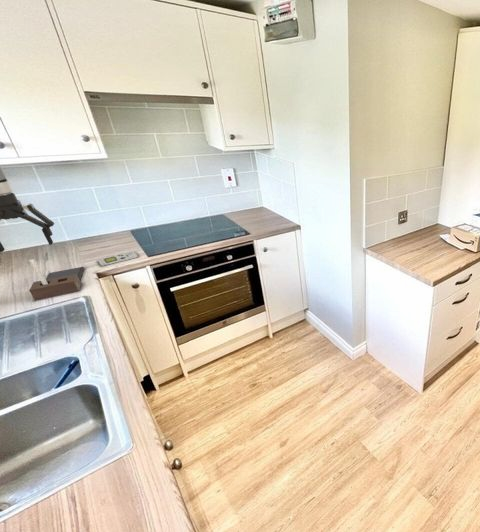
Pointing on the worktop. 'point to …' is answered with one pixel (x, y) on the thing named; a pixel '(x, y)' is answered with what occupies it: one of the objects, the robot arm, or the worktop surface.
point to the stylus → (38, 271)
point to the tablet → (67, 273)
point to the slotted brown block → (55, 287)
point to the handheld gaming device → (117, 258)
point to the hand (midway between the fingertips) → (27, 247)
